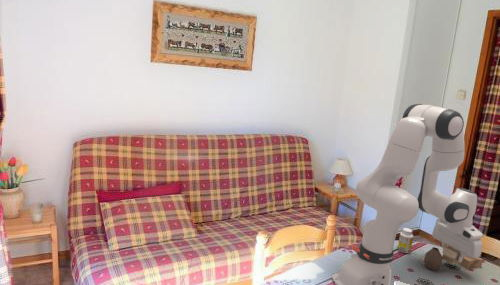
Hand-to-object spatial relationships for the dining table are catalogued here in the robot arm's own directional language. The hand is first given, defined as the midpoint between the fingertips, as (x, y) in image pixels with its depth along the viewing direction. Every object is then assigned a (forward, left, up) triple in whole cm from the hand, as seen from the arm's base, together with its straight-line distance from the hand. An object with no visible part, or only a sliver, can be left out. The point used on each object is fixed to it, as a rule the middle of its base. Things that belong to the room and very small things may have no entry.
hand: (451, 257), depth 157 cm
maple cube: (0, 0, -2) cm, 2 cm away
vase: (-8, +2, -5) cm, 10 cm away
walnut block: (+11, 0, -5) cm, 12 cm away
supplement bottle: (-8, +17, -5) cm, 20 cm away
